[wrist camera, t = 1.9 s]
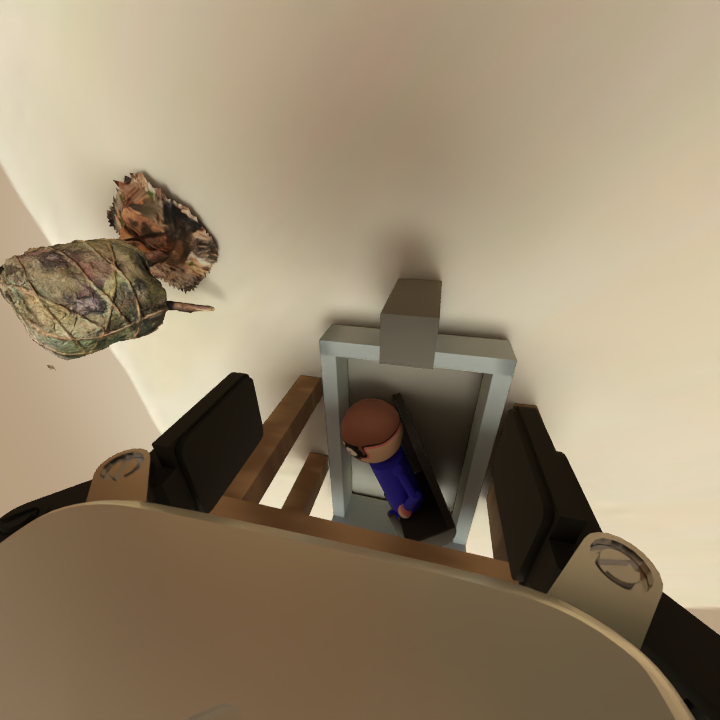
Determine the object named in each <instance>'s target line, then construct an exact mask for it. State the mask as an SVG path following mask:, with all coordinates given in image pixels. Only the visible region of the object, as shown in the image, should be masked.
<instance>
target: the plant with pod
mask: <svg viewBox="0 0 720 720" xmlns="http://www.w3.org/2000/svg"><path fill="white" fill-rule="evenodd" d="M130 174H131V176H132V178H133V179H131V178H129V177H127V176H125V180H124V183H123V182H119V181H115V180H113V181H114V182H115V183H116V184H117V186H118V187H119V188H120V190H119V189H117V188H116V189H117V192H118V194H119V195H118V194H117V199H115V198H114V196H113V200H114V202H113V203H112V204H113V207H112V206H111V208H110V209H111V211H108V210H107V214H108V215H107V218H108V219H109V221H108V222H110V223H111V224H110V226H114V229H115V230H117V231H116V233H118V232H119V235H121V236H120V237H119V239H104V238H103V239H102V238H101V239H94V240H87V241H83V240H74V241H72V242H71V243H67V244H57V245H54V246H48V247H39V248H29V250H28V251H26V252H25V253H24V254H23V255H21V256H13V257H12V258H9V259H6V260H5V264H4V265H2V266H1V267H0V292H1V294H2V296H3V297H4V299H6V300H7V302H8V303H9V304H11V306H12V307H13V310H14V311H15V312H16V314H17V316H18V318H19V319H20V320H21V322H22V323H23V324H24V326H25V329H26V331H27V333H28V334H29V336H30V337H31V338H32V339H33V341H35V342H36V343H38V344H39V345H40V346H42V347H43V348H45V349H46V350H48V351H49V352H51V353H52V354H54V355H56V356H57V357H59V358H62V359H64V360H70V359H75V358H80V357H82V356H86V355H87V354H92V353H94V352H97V351H99V350H103V349H105V348H107V347H109V345H111V344H113V343H115V342H118V341H125V340H129V339H136V338H140V337H142V336H146V335H148V334H150V333H152V332H154V331H156V330H157V329H158V327H159V326H160V325H161V324H163V320H164V317H165V313H166V311H168V310H178V311H183V312H189V313H191V312H194V311H214V307H211V306H204V305H195V304H189V303H182V302H173V301H167V297H166V291H165V289H164V288H163V287H162V284H161V282H160V281H159V280H157V279H156V278H158V279H159V278H161V280H162V278H163V279H164V282H169V286H171V284H172V286H174V288H175V286H176V287H177V289H178V290H179V289H181V290H182V292H183V289H184V291H185V294H186V292H187V291H191V289H192V290H193V291H194V287H196V286H195V285H199V281H201V280H202V279H203V278H205V277H206V276H205V274H204V272H206V273H210V272H209V269H211V268H210V266H211V264H210V263H212V264H214V262H217V261H216V260H215V258H218V257H217V255H216V252H217V248H216V245H214V244H215V243H214V242H213V241H214V239H212V236H209V232H208V233H206V230H204V228H203V226H201V225H200V223H199V222H198V221H197V217H195V216H192V214H191V213H190V210H189V208H188V207H187V208H185V205H184V207H183V206H182V205H181V204H178V203H177V202H176V201H174V200H173V199H172V198H170V199H168V200H167V198H166V196H165V195H164V193H163V191H162V189H161V188H153V187H152V186H151V184H150V183H149V182H148V183H147V179H146V178H144V176H143V174H142V172H141V173H139V174H133V173H130ZM211 239H212V240H211ZM211 267H212V266H211ZM151 272H152V273H151ZM153 275H154V276H153ZM196 288H197V287H196ZM48 368H50V369H55V368H54V367H53V366H52V365H48Z"/></svg>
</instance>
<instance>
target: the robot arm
mask: <svg viewBox="0 0 720 720" xmlns="http://www.w3.org/2000/svg"><path fill="white" fill-rule="evenodd" d="M263 432H264V431H263V426H262V421H261V416H260V411H259V406H258V402H257V397H256V392H255V387H254V383H253V380H252V378H250V377H249V375H248V374H244V373H236V372H232V373H230V374H229V375H228V376H227V377H226V378H225V379H223V380H222V381H221V382H220V383H219V384H218V385H217V386H216V387H215V388H213V389H212V390H211V391H210V392H209V393H208V394H207V395H206V396H205V397H203V398H202V399H201V400H200V401H199V402H198V403H197V404H196V405H195V406H193V407H192V408H191V409H190V410H189V411H188V412H187V413H186V414H185V415H183V416H182V417H181V418H180V419H179V420H178V421H177V422H176V423H175V424H173V425H172V426H171V427H170V428H169V429H168V430H167V431H166V432H164V433H163V434H162V435H161V436H160V437H159V438H158V439H157V440H156V441H155V442H153V443H152V446H153V448H154V449H153V450H152V451H151V452H150V453H149V452H148V451H147V450H144V449H130V450H126V451H123V452H120V453H117V454H116V455H114V456H112V457H110V458H108V459H107V460H106V461H104V462H103V463H102V464H101V465H100V466H99V467H98V468H97V469H96V472H95V473H94V476H93V479H92V480H90V481H87V482H84V483H81V484H79V485H76V486H73V487H70V488H67V489H65V490H62V491H59V492H56V493H53V494H51V495H48V496H45V497H42V498H40V499H37V500H34V501H31V502H29V503H26V504H24V505H22V506H19V507H17V508H15V509H13V510H11V511H10V512H8V513H7V514H5V515H4V516H3V517H1V518H0V720H720V635H719V634H717V633H716V632H715V631H713V630H712V629H711V628H709V627H708V626H707V625H705V624H704V623H703V622H702V621H700V620H699V619H697V618H696V617H695V616H694V615H692V614H691V613H690V612H688V611H687V610H686V609H684V608H683V607H682V606H681V605H679V604H678V603H677V602H675V601H674V600H673V599H671V598H670V597H669V596H667V595H666V594H665V593H663V592H662V590H663V583H662V580H661V577H660V574H659V572H658V571H657V569H656V568H655V566H654V564H653V563H652V562H651V561H650V560H649V559H648V558H647V557H646V556H645V554H644V553H643V552H641V551H640V550H639V549H637V548H636V547H635V546H634V545H632V544H631V543H629V542H627V541H625V540H624V539H622V538H620V537H617V536H615V535H612V534H609V533H603V532H602V530H601V528H600V526H599V524H598V522H597V520H596V518H595V516H594V514H593V512H592V509H591V507H590V505H589V503H588V501H587V499H586V497H585V495H584V493H583V491H582V489H581V487H580V484H579V482H578V480H577V478H576V476H575V474H574V472H573V470H572V468H571V466H570V464H569V461H568V459H567V457H566V456H565V454H563V453H562V452H558V451H556V450H555V448H554V445H553V443H552V441H551V439H550V436H549V434H548V432H547V430H546V428H545V425H544V423H543V421H542V419H541V416H540V414H539V412H538V410H537V408H534V407H525V406H516V407H515V409H509V411H508V414H507V417H506V421H505V424H504V428H503V431H502V435H501V438H500V442H499V445H498V449H497V452H496V456H495V459H494V463H493V467H492V478H493V483H494V488H495V494H496V499H497V504H498V510H499V515H500V520H501V525H502V531H503V536H504V541H505V546H506V552H507V557H508V562H509V567H510V573H511V577H512V579H513V580H514V581H518V582H519V585H518V584H515V583H511V582H508V581H504V580H501V579H498V578H494V577H490V576H486V575H481V574H477V573H473V572H469V571H465V570H461V569H457V568H452V567H448V566H444V565H440V564H436V563H431V562H427V561H422V560H418V559H413V558H409V557H405V556H400V555H396V554H391V553H387V552H382V551H378V550H373V549H369V548H364V547H360V546H355V545H351V544H346V543H342V542H337V541H333V540H328V539H323V538H319V537H314V536H310V535H305V534H301V533H296V532H291V531H287V530H282V529H277V528H273V527H268V526H264V525H259V524H254V523H249V522H245V521H240V520H235V519H231V518H226V517H221V516H216V515H212V514H208V513H210V512H211V511H212V510H213V508H214V507H215V506H216V504H217V503H218V501H219V500H220V498H221V497H222V496H223V494H224V493H225V491H226V490H227V488H228V487H229V486H230V484H231V483H232V481H233V480H234V478H235V477H236V475H237V474H238V473H239V471H240V470H241V468H242V467H243V465H244V464H245V463H246V461H247V460H248V458H249V457H250V455H251V454H252V453H253V451H254V450H255V448H256V447H257V445H258V444H259V442H260V441H261V439H262V437H263Z"/></svg>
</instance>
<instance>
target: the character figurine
mask: <svg viewBox="0 0 720 720" xmlns="http://www.w3.org/2000/svg"><path fill="white" fill-rule="evenodd" d="M393 396H394V399H395V402H396V404H397V407H398V410H399V412H400V415H401V417H402V420H403V423H404V425H405V428H406V431H407V433H408V436H409V438H410V441H411V444H412V446H413V448H414V450H415V453H416V455H417V457H418V460H419V462H420V464H421V467H422V469H423V470H421V471H419V472H416V473H414V472H413V470H412V468H411V466H410V463H409V461H408V459H407V457H406V454H405V452H404V450H403V448H402V446H401V443H402V440H403V434H404V429H403V423H402V420H401V417H400V415H399V414H398V412H397V411H396V409H395V408H394V407H393V406H391V405H390V404H389V403H387V402H385V401H383V400H380V399H375V398H368V399H363V400H360V401H358V402H356V403H355V404H353V405H352V406H351V407H350V408H349V409H348V410H347V412H346V413H345V415H344V417H343V419H342V423H341V437H342V441H343V443H344V446H345V447H346V449H347V450H348V452H349V453H350V454H351V455H352V456H354V457H355V458H357V459H358V460H360V461H363V462H367V463H369V464H370V466H371V468H372V470H373V472H374V474H375V476H376V477H377V479H378V481H379V483H380V485H381V487H382V489H383V491H384V496H385V498H386V499H387V501H388V503H389V505H390V507H391V510H389V511H388V513H387V515H388V517H389V519H390V521H391V523H392V525H393V527H394V528H395V530H396V532H397V534H398V536H399V537H402V538H407V539H411V540H415V541H419V542H424V543H428V544H432V545H437V546H441V547H442V546H444V545H446V544H448V543H450V542H451V541H452V540H453V539H454V537H455V535H456V531H457V530H456V526H455V524H454V522H453V519H452V517H451V514H450V512H449V509H448V507H447V505H446V502H445V500H444V497H443V495H442V493H441V490H440V488H439V485H438V483H437V481H436V478H435V476H434V473H433V471H432V469H431V466H430V464H429V461H428V459H427V456H426V454H425V452H424V449H423V447H422V444H421V442H420V440H419V437H418V435H417V433H416V430H415V428H414V426H413V423H412V421H411V419H410V416H409V414H408V412H407V409H406V407H405V405H404V402H403V400H402V398H401V395H400V393H398V394H396V395H393Z"/></svg>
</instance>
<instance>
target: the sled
mask: <svg viewBox="0 0 720 720" xmlns="http://www.w3.org/2000/svg"><path fill="white" fill-rule="evenodd" d="M441 286H442V281H432V280H414V279H398V281H397V283H396V285H395V287H394V288H393V290H392V292H391V294H390V296H389V298H388V300H387V302H386V304H385V306H384V308H383V310H382V312H381V317H380V329H378V328H367V327H356V326H345V325H334V324H332V325H331V326H330V328H329V329H328V330H327V331H326V332H325V334H324V335H323V336H322V337H321V339H320V340H319V344H320V356H321V368H322V380H323V392H324V405H325V417H326V429H327V441H328V453H329V465H330V478H331V490H332V502H333V514H334V516H333V518H332V521H334V522H338V523H342V524H347V525H351V526H355V527H359V528H364V529H368V530H372V531H377V532H381V533H385V534H389V535H394V536H398V534H397V532H396V530H395V528H394V527H393V525H392V523H391V521H390V519H389V517H388V515H387V513H388V511H389V510H391V507H390V505H389V503H388V501H385V500H380V499H375V498H371V497H366V496H361V495H356V494H352V481H351V454H350V453H349V452H348V450H347V449H346V447H345V446H344V443H343V441H342V437H341V423H342V419H343V417H344V415H345V413H346V412H347V410H348V409H349V390H348V360H347V358H355V359H364V360H373V361H379V363H383V364H391V365H400V366H409V367H418V368H426V369H433V367H435V368H444V369H452V370H461V371H470V372H479V373H484V375H483V379H482V384H481V388H480V393H479V397H478V402H477V406H476V410H475V415H474V419H473V424H472V428H471V433H470V437H469V442H468V446H467V451H466V455H465V460H464V464H463V469H462V473H461V478H460V482H459V487H458V491H457V496H456V500H455V505H454V509H453V514H452V515H451V517H452V519H453V522H454V524H455V526H456V530H457V531H456V535H455V537H454V539H453V540H452V541H451V542H450V543H448V544H446V545H444V546H442V547H445V548H449V549H454V550H458V551H462V552H466V546H465V545H466V542H467V538H468V535H469V531H470V527H471V524H472V520H473V517H474V513H475V509H476V506H477V502H478V499H479V495H480V492H481V488H482V484H483V481H484V477H485V474H486V470H487V466H488V463H489V459H490V456H491V452H492V449H493V445H494V441H495V438H496V434H497V431H498V427H499V423H500V420H501V416H502V413H503V409H504V406H505V402H506V398H507V395H508V391H509V388H510V384H511V380H512V377H513V373H514V370H515V366H516V363H517V359H516V356H515V354H514V351H513V349H512V346H511V344H510V341H509V340H499V339H488V338H477V337H466V336H455V335H444V334H438V327H439V319H440V303H441ZM398 537H399V536H398Z"/></svg>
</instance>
